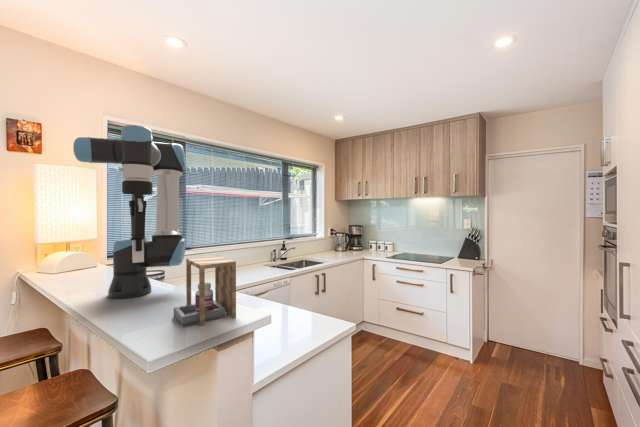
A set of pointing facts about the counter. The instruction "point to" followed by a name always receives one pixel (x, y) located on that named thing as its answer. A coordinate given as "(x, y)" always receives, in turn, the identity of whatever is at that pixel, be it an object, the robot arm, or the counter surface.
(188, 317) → the tray
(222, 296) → the counter shelf
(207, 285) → the pill bottle
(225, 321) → the counter surface
